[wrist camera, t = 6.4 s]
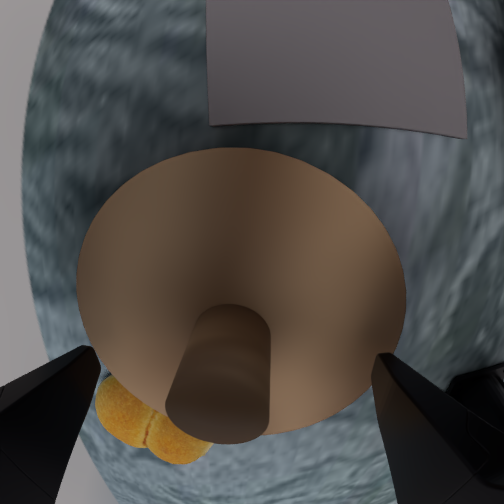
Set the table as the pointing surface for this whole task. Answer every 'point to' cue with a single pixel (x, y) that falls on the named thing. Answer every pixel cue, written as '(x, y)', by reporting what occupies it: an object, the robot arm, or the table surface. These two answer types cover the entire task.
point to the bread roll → (144, 425)
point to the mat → (335, 64)
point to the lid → (240, 292)
